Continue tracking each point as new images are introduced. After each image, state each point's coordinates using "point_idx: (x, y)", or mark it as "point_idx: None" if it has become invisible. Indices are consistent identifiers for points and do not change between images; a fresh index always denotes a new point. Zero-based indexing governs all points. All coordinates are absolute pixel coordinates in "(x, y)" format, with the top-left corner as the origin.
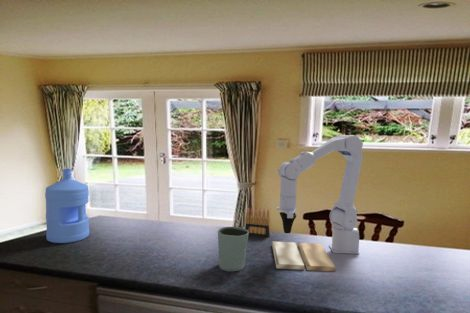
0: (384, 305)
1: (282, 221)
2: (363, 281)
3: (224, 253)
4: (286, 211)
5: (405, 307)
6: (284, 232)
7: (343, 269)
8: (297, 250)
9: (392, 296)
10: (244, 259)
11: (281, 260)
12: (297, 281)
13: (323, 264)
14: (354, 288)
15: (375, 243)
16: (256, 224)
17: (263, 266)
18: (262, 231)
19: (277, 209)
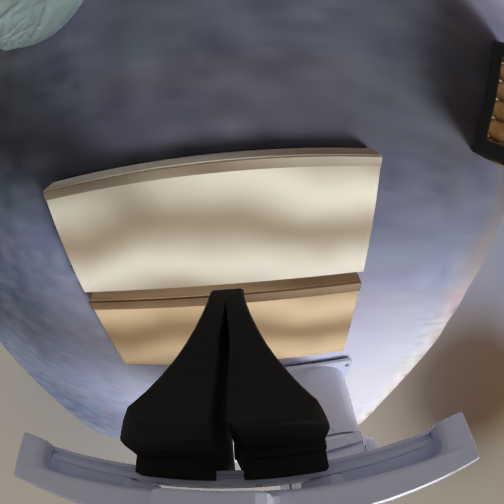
0: (34, 375)
1: (242, 352)
2: (103, 382)
3: None
4: (44, 489)
5: (49, 392)
6: (212, 292)
7: (153, 369)
8: (248, 278)
9: (71, 394)
10: (4, 49)
11: (84, 208)
12: (12, 254)
13: (126, 343)
14: (60, 361)
15: (355, 416)
16: None
17: (60, 120)
18: (500, 126)
19: (155, 494)
